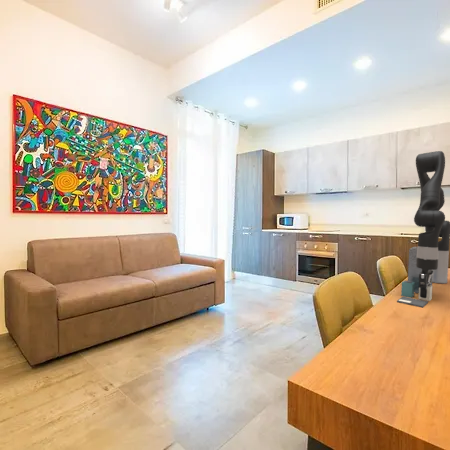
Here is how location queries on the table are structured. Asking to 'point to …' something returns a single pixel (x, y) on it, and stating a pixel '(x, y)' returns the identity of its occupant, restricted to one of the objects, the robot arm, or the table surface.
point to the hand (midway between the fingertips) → (425, 295)
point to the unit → (413, 269)
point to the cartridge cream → (429, 293)
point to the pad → (412, 301)
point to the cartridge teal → (407, 288)
